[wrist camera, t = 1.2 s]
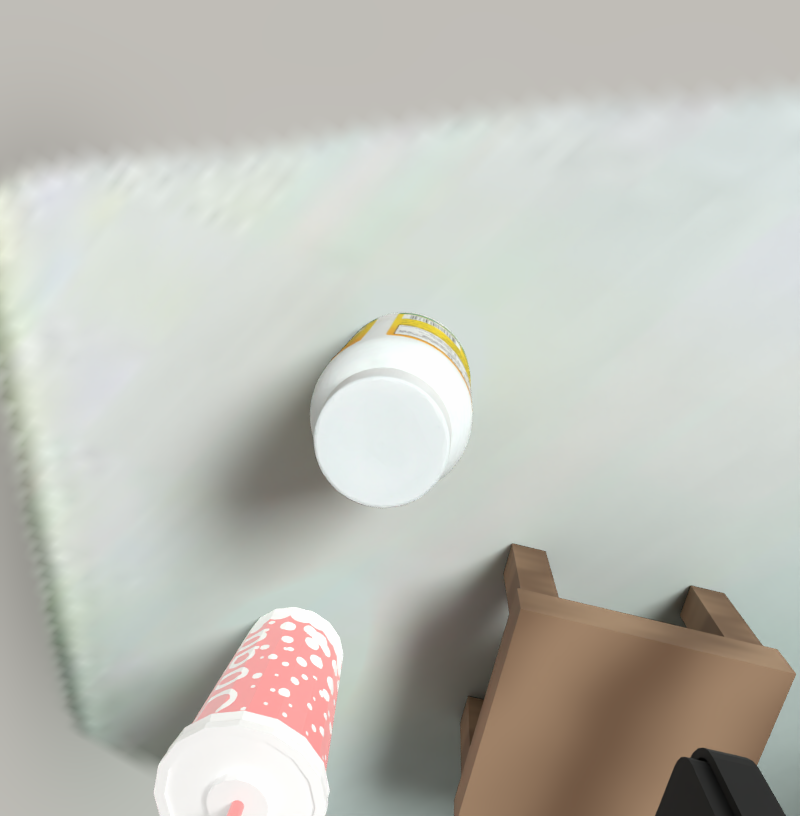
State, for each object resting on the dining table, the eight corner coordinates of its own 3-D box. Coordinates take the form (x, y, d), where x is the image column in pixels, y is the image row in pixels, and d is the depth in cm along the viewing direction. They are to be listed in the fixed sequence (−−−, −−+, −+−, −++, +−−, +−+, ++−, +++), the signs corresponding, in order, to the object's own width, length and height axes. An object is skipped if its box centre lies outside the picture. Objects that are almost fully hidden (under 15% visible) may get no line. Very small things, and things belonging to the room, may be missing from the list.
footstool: (731, 589, 31) (796, 673, 25) (660, 774, 34) (703, 889, 28) (507, 536, 31) (521, 608, 25) (453, 725, 34) (454, 829, 28)
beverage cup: (330, 576, 32) (243, 830, 19) (378, 688, 34) (328, 1001, 20) (209, 613, 33) (43, 881, 20) (260, 721, 35) (137, 1042, 21)
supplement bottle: (455, 298, 29) (457, 334, 20) (480, 423, 30) (493, 513, 21) (327, 325, 29) (270, 372, 20) (356, 446, 31) (315, 544, 21)
